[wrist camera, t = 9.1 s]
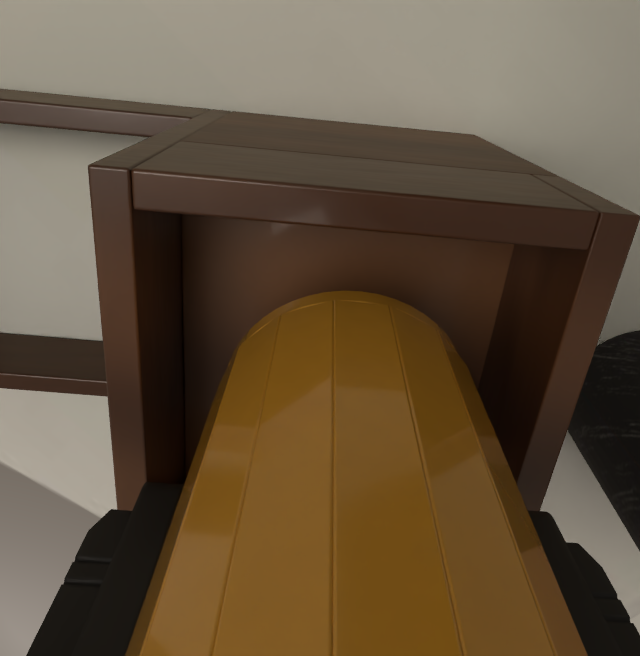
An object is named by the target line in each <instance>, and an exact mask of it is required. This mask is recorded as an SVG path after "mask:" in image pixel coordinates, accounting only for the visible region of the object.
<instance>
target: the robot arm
mask: <svg viewBox="0 0 640 656" xmlns="http://www.w3.org/2000/svg"><path fill="white" fill-rule="evenodd" d="M183 487H184V484H170V483H156V482H146V483H145V484H144V485H143V487H142V489H141V491H140V494H139V496H138V498H137V501H136V503H135V505H134V508H133V510H132V511H128V510H113V509H111V510H110V511H109V512H108V513H107V514H106V515H105V516H104V517H103V518H101V519H100V520H99V521H98V522H97V523H96V524H95V525H94V526H93V527H92V528H91V529H90V530H89V531H88V533H87V535H86V537H85V539H84V541H83V543H82V545H81V547H80V549H79V551H78V553H77V555H76V557H75V562H73V563H72V565H71V567H70V569H69V571H68V573H67V575H66V577H65V580H64V584H63V585H61V587H60V589H59V591H58V593H57V595H56V597H55V599H54V601H53V603H52V605H51V607H50V609H49V611H48V613H47V615H46V617H45V619H44V621H43V623H42V625H41V627H40V629H39V631H38V633H37V635H36V637H35V639H34V641H33V643H32V645H31V647H30V649H29V651H28V654H27V655H26V656H125V655H126V652H127V649H128V646H129V643H130V640H131V637H132V634H133V632H134V629H135V626H136V623H137V620H138V617H139V614H140V611H141V608H142V606H143V603H144V600H145V597H146V594H147V591H148V588H149V585H150V582H151V579H152V577H153V574H154V571H155V568H156V565H157V562H158V559H159V556H160V553H161V551H162V548H163V545H164V542H165V539H166V536H167V533H168V530H169V527H170V525H171V522H172V519H173V516H174V513H175V510H176V507H177V504H178V501H179V498H180V496H181V493H182V490H183ZM528 513H529V515H530V518H531V520H532V522H533V525H534V527H535V530H536V532H537V534H538V537H539V539H540V542H541V544H542V546H543V549H544V551H545V554H546V556H547V558H548V561H549V563H550V566H551V568H552V570H553V573H554V575H555V578H556V580H557V582H558V585H559V587H560V590H561V592H562V594H563V597H564V599H565V601H566V604H567V606H568V609H569V611H570V613H571V616H572V618H573V621H574V623H575V625H576V628H577V630H578V633H579V635H580V637H581V640H582V642H583V645H584V647H585V649H586V652H587V654H588V656H640V635H639V633H638V631H637V629H636V627H635V626H634V624H633V623H630V617H629V615H628V613H627V611H626V609H625V608H624V606H623V604H622V602H621V600H618V599H617V593H616V591H615V590H614V588H613V586H612V584H611V582H610V581H609V579H608V577H607V575H606V573H605V572H604V570H603V568H602V567H601V566H600V565H599V564H598V563H597V562H596V561H595V560H594V559H593V558H592V557H591V556H590V555H589V554H588V553H587V552H586V551H585V550H584V549H583V548H582V547H581V546H580V545H579V544H578V543H566V542H565V540H564V538H563V536H562V534H561V532H560V530H559V528H558V526H557V524H556V522H555V520H554V519H553V517H552V516H551V514H549V513H548V512H543V511H529V510H528Z"/></svg>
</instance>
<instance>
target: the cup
mask: <svg viewBox="0 0 640 656" xmlns="http://www.w3.org/2000/svg"><path fill="white" fill-rule="evenodd" d="M125 656H588V654H587V652H586V649H585V647H584V645H583V642H582V640H581V637H580V635H579V633H578V630H577V628H576V625H575V623H574V621H573V618H572V616H571V613H570V611H569V609H568V606H567V604H566V601H565V599H564V597H563V594H562V592H561V590H560V587H559V585H558V582H557V580H556V578H555V575H554V573H553V570H552V568H551V566H550V563H549V561H548V558H547V556H546V554H545V551H544V549H543V546H542V544H541V542H540V539H539V537H538V534H537V532H536V530H535V527H534V525H533V522H532V520H531V518H530V515H529V513H528V510H527V508H526V506H525V503H524V501H523V499H522V496H521V494H520V491H519V489H518V487H517V484H516V482H515V479H514V477H513V475H512V472H511V470H510V467H509V465H508V463H507V460H506V458H505V455H504V453H503V451H502V448H501V446H500V443H499V441H498V439H497V436H496V434H495V431H494V429H493V427H492V424H491V422H490V419H489V417H488V415H487V412H486V410H485V407H484V405H483V403H482V400H481V398H480V396H479V393H478V391H477V388H476V386H475V384H474V381H473V379H472V376H471V374H470V372H469V369H468V367H467V365H466V364H465V363H464V361H463V360H462V358H461V356H460V354H459V352H458V350H457V348H456V347H455V345H454V344H453V342H452V341H451V339H450V338H449V336H448V335H447V334H446V333H445V332H444V331H443V330H442V329H441V328H440V327H439V326H438V325H437V324H436V323H435V322H434V321H433V320H431V319H430V318H429V317H428V316H426V315H425V314H424V313H422V312H420V311H419V310H417V309H415V308H414V307H412V306H410V305H408V304H405V303H403V302H401V301H399V300H396V299H393V298H390V297H387V296H383V295H380V294H375V293H368V292H362V291H332V292H323V293H319V294H314V295H309V296H306V297H303V298H300V299H297V300H294V301H291V302H289V303H287V304H285V305H283V306H281V307H279V308H277V309H275V310H274V311H272V312H271V313H269V314H268V315H266V316H265V317H263V318H262V319H261V320H260V321H259V322H258V323H256V324H255V325H254V326H253V327H252V328H251V329H250V330H249V331H248V332H247V333H246V335H245V336H244V337H243V338H242V339H241V341H240V342H239V344H238V346H237V347H236V349H235V350H234V352H233V354H232V356H231V359H230V361H229V363H228V365H227V368H226V371H225V374H224V376H223V377H222V379H221V381H220V383H219V386H218V389H217V391H216V394H215V397H214V400H213V403H212V406H211V409H210V412H209V415H208V417H207V420H206V423H205V426H204V429H203V432H202V435H201V438H200V441H199V444H198V446H197V449H196V452H195V455H194V458H193V461H192V464H191V467H190V470H189V472H188V475H187V478H186V481H185V484H184V487H183V490H182V493H181V496H180V498H179V501H178V504H177V507H176V510H175V513H174V516H173V519H172V522H171V525H170V527H169V530H168V533H167V536H166V539H165V542H164V545H163V548H162V551H161V553H160V556H159V559H158V562H157V565H156V568H155V571H154V574H153V577H152V579H151V582H150V585H149V588H148V591H147V594H146V597H145V600H144V603H143V606H142V608H141V611H140V614H139V617H138V620H137V623H136V626H135V629H134V632H133V634H132V637H131V640H130V643H129V646H128V649H127V652H126V655H125Z"/></svg>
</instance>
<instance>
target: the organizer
mask: <svg viewBox="0 0 640 656" xmlns="http://www.w3.org/2000/svg"><path fill="white" fill-rule="evenodd" d="M0 123H4V124H15V125H25V126H36V127H46V128H57V129H68V130H78V131H89V132H99V133H110V134H120V135H131V136H141V137H150V138H148V139H145V140H143V141H141V142H139V143H137V144H134V145H132V146H130V147H128V148H125V149H123V150H121V151H119V152H116V153H114V154H112V155H110V156H107V157H105V158H103V159H101V160H99V161H96V162H94V163H92V164H90V165H89V166H88V174H89V185H90V197H91V208H92V220H93V232H94V243H95V255H96V266H97V278H98V289H99V301H100V313H101V324H102V336H103V342H102V341H89V340H77V339H65V338H53V337H41V336H28V335H16V334H4V333H0V388H7V389H19V390H32V391H45V392H58V393H70V394H83V395H96V396H108V405H109V417H110V429H111V440H112V452H113V463H114V475H115V487H116V498H117V510H128V511H132V510H133V508H134V505H135V503H136V501H137V498H138V496H139V494H140V491H141V489H142V487H143V485H144V484H145V483H146V482H156V483H170V484H185V481H186V478H187V475H188V472H189V470H190V467H191V464H192V461H193V458H194V455H195V452H196V449H197V446H198V444H199V441H200V438H201V435H202V432H203V429H204V426H205V423H206V420H207V417H208V415H209V412H210V409H211V406H212V403H213V400H214V397H215V394H216V391H217V389H218V386H219V383H220V381H221V379H222V377H223V376H224V374H225V371H226V368H227V365H228V363H229V361H230V359H231V356H232V354H233V352H234V350H235V349H236V347H237V346H238V344H239V342H240V341H241V339H242V338H243V337H244V336H245V335H246V333H247V332H248V331H249V330H250V329H251V328H252V327H253V326H254V325H255V324H256V323H258V322H259V321H260V320H261V319H262V318H263V317H265V316H266V315H268V314H269V313H271V312H272V311H274V310H275V309H277V308H279V307H281V306H283V305H285V304H287V303H289V302H291V301H294V300H297V299H300V298H303V297H306V296H309V295H314V294H319V293H323V292H332V291H362V292H368V293H375V294H380V295H383V296H387V297H390V298H393V299H396V300H399V301H401V302H403V303H405V304H408V305H410V306H412V307H414V308H415V309H417V310H419V311H420V312H422V313H424V314H425V315H426V316H428V317H429V318H430V319H431V320H433V321H434V322H435V323H436V324H437V325H438V326H439V327H440V328H441V329H442V330H443V331H444V332H445V333H446V334H447V335H448V336H449V338H450V339H451V341H452V342H453V344H454V345H455V347H456V348H457V350H458V352H459V354H460V356H461V358H462V360H463V361H464V363H465V364H466V365H467V367H468V369H469V372H470V374H471V376H472V379H473V381H474V384H475V386H476V388H477V391H478V393H479V396H480V398H481V400H482V403H483V405H484V407H485V410H486V412H487V415H488V417H489V419H490V422H491V424H492V427H493V429H494V431H495V434H496V436H497V439H498V441H499V443H500V446H501V448H502V451H503V453H504V455H505V458H506V460H507V463H508V465H509V467H510V470H511V472H512V475H513V477H514V479H515V482H516V484H517V487H518V489H519V491H520V494H521V496H522V499H523V501H524V503H525V506H526V508H527V510H529V511H540V508H541V505H542V502H543V499H544V497H545V494H546V491H547V488H548V485H549V482H550V479H551V476H552V473H553V470H554V467H555V465H556V462H557V459H558V456H559V453H560V450H561V447H562V444H563V441H564V438H565V436H566V433H567V430H568V427H569V424H570V421H571V418H572V415H573V412H574V409H575V406H576V404H577V401H578V398H579V395H580V392H581V389H582V386H583V383H584V380H585V377H586V374H587V372H588V369H589V366H590V363H591V360H592V357H593V354H594V351H595V348H596V345H597V342H598V340H599V337H600V334H601V331H602V328H603V325H604V322H605V319H606V316H607V313H608V310H609V308H610V305H611V302H612V299H613V296H614V293H615V290H616V287H617V284H618V281H619V278H620V276H621V273H622V270H623V267H624V264H625V261H626V258H627V255H628V252H629V249H630V246H631V244H632V241H633V238H634V235H635V232H636V229H637V226H638V223H639V220H640V216H639V215H637V214H635V213H633V212H631V211H629V210H627V209H625V208H623V207H621V206H619V205H617V204H615V203H613V202H610V201H608V200H606V199H604V198H602V197H600V196H598V195H596V194H594V193H592V192H590V191H588V190H586V189H584V188H582V187H580V186H578V185H576V184H574V183H572V182H570V181H568V180H566V179H564V178H561V177H559V176H557V175H555V174H553V173H551V172H549V171H547V170H545V169H543V168H541V167H539V166H537V165H535V164H533V163H531V162H529V161H526V160H524V159H522V158H520V157H518V156H516V155H514V154H512V153H510V152H508V151H506V150H504V149H502V148H500V147H498V146H496V145H494V144H492V143H490V142H488V141H486V140H484V139H482V138H480V137H478V136H475V135H470V134H460V133H449V132H439V131H429V130H419V129H408V128H398V127H388V126H378V125H367V124H357V123H347V122H336V121H326V120H316V119H306V118H295V117H285V116H275V115H265V114H254V113H244V112H234V111H233V112H230V111H223V110H209V109H202V108H192V107H182V106H171V105H161V104H151V103H140V102H130V101H120V100H110V99H99V98H89V97H79V96H69V95H58V94H48V93H38V92H27V91H17V90H7V89H0Z"/></svg>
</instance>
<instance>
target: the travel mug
mask: <svg viewBox="0 0 640 656" xmlns="http://www.w3.org/2000/svg"><path fill="white" fill-rule="evenodd" d="M568 431H569V433H570V435H571V437H572V438H573V440H574V442H575V444H576V445H577V447H578V449H579V450H580V452H581V454H582V455H583V457H584V459H585V460H586V462H587V464H588V465H589V467H590V469H591V470H592V472H593V474H594V475H595V477H596V479H597V480H598V482H599V484H600V485H601V487H602V489H603V490H604V492H605V494H606V495H607V497H608V499H609V500H610V502H611V504H612V505H613V507H614V509H615V511H616V512H617V514H618V516H619V517H620V519H621V521H622V522H623V524H624V526H625V527H626V529H627V531H628V532H629V534H630V536H631V537H632V539H633V541H634V542H635V544H636V546H637V547H638V549H639V551H640V331H635V332H631V333H626V334H623V335H620V336H617V337H614V338H612V339H610V340H608V341H606V342H604V343H602V344H601V345H599V346H597V347H596V348H595V351H594V354H593V357H592V360H591V363H590V366H589V369H588V372H587V374H586V377H585V380H584V383H583V386H582V389H581V392H580V395H579V398H578V401H577V404H576V406H575V409H574V412H573V415H572V418H571V421H570V424H569V427H568Z"/></svg>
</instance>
